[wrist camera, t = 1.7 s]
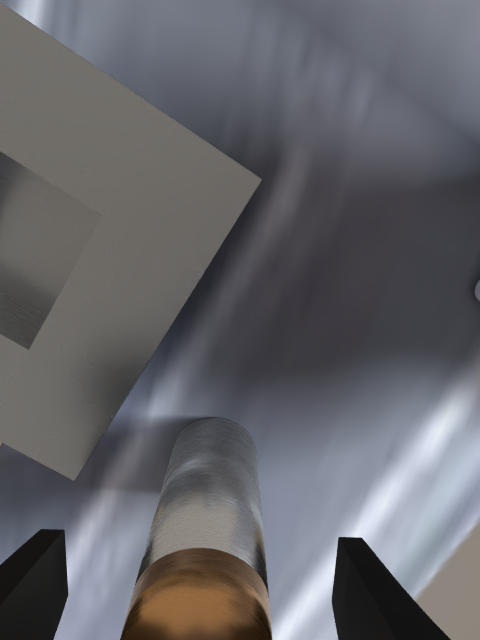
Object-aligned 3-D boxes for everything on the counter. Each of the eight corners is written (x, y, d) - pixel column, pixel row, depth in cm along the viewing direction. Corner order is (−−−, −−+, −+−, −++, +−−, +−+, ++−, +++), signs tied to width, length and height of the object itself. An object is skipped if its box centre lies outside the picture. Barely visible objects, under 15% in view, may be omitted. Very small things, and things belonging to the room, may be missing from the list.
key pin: (272, 444, 16) (305, 651, 9) (227, 507, 17) (220, 753, 9) (200, 402, 16) (166, 578, 8) (156, 467, 17) (86, 691, 9)
